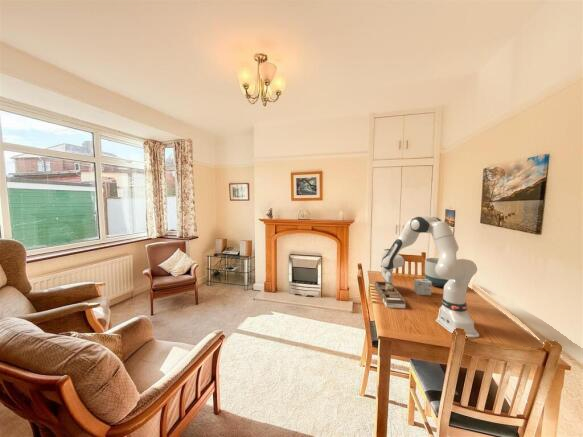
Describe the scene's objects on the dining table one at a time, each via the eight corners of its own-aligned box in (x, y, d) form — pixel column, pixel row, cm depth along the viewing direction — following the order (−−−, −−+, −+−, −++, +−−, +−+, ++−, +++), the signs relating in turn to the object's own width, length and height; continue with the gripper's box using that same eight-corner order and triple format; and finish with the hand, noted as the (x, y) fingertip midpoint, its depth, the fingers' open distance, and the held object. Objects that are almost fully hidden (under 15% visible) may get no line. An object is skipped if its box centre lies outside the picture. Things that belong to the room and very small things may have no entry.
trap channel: (405, 308, 160) (405, 300, 160) (386, 307, 162) (386, 299, 161) (390, 288, 195) (390, 282, 194) (374, 287, 196) (375, 281, 196)
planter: (446, 292, 186) (448, 266, 184) (420, 284, 202) (421, 260, 200) (455, 285, 199) (456, 261, 197) (429, 279, 215) (430, 256, 213)
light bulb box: (427, 291, 187) (428, 278, 186) (431, 295, 181) (432, 282, 180) (413, 291, 188) (414, 278, 187) (417, 294, 182) (417, 281, 181)
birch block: (393, 291, 182) (393, 286, 181) (387, 290, 182) (387, 285, 182) (391, 288, 187) (391, 283, 186) (385, 288, 187) (385, 283, 187)
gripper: (395, 272, 180) (394, 289, 181) (387, 264, 200) (387, 280, 201) (386, 272, 181) (386, 289, 182) (380, 264, 201) (379, 280, 202)
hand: (386, 284), depth 192 cm, fingers closed
